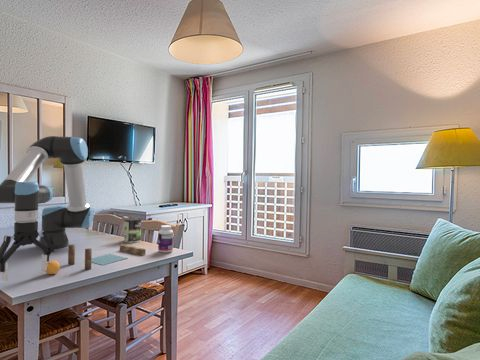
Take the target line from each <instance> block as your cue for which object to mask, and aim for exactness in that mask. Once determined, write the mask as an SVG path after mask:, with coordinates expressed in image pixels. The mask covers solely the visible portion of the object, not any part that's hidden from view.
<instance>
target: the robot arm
mask: <svg viewBox="0 0 480 360" xmlns="http://www.w3.org/2000/svg"><path fill="white" fill-rule="evenodd" d="M25 153H26V154H24V156H23V157H22V158H21V160H20V161H19V162H18V163H17V164H16V166H15V167H14V168H13V169H12V170H11V171H10V173H9V174H8V175H7V176H6V177H5V178H4V179H3V181H1V183H0V204H14V213H13V214H14V215H13V216H14V217H13V220H14V221H15V222H14V223H13V224H14V225H13V226H14V227H13V231H14V233H13V235H4V236H3V242H2V243H1V245H0V273H1V280H2V281H4V282H7V281H8V280H9V279H8V278H9V263H8V260H9V259H10V258H11V257H12V256H13V254H14V253H15V252H16V250H17V249H19V248H20V247H21V246H22V247H24V246H27V245H35V246H36V248H37V249H39V250H40V251H41V252H42V254H41V263H40V264H41V271H43V272H45V271H47V263H48V262H50V255H51V253H54V252H55V249H61V248H62V249H63V248H65V247H68V245H70V244H69V239H68V235H67V233H66V229H87V228H88V229H89V228H90V227H91V226H92V224H93V222H94V218H95V209H94V208H93V207H91V206H90V203H89V202H87V196H86V188H85V179H84V172H83V170H84V169H83V164H84V163H85V160H87V158H88V156H89V154H88V153H89V149H88V145H87V143H86V141H85V140H84V139H83V138H82V137H75V136H58V135H57V136H55V135H49V136H45V137H42V138H41V139H38V140H36V141H34V142H33V143H32V144H31V145H29V147H28V148H27V149H26V152H25ZM50 159H57V160H58V159H59V162H60V164H61V165H62V166H63V167H64V168H63V169H64V175H65V182H66V190H67V195H68V196H67V197H68V205H67V206H66V205H65V204H62V205H54V206H48V207H44V208H42V210H41V211H42V212H41V230H40V231H38V230H39V221H38V219H39V205H40V204H45V203H47V202H50V201H52V198H53V197H54V191H53V189H52V188H51V187H50V186H48V185H44V184H43V185H42V184H41V185H40V184H39V182H37V181H30V180H31V178H32V177H33V176H34V174H35V173H36V172H37V170H38V169H39V168H40V166H41V165H42V163H45V162H47V161H48V160H50ZM38 237H39V240H38ZM12 241H14V242H13V243H12V244H11V242H12ZM10 244H11V245H10ZM9 246H10V247H9ZM7 249H8V250H7Z"/></svg>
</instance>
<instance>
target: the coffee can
mask: <svg viewBox="0 0 480 360" xmlns="http://www.w3.org/2000/svg"><path fill="white" fill-rule="evenodd" d="M123 221H124V224H123V225H124V226H123V228H124V229H123V242H124V243H127V244H128V243H129V244H132V243H139V242H141V239H142V238H141V233H142V218H139V217H129V218H124V220H123Z"/></svg>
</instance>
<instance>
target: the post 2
mask: <svg viewBox="0 0 480 360" xmlns="http://www.w3.org/2000/svg"><path fill="white" fill-rule="evenodd" d="M92 249H93V248H89V247H88V248H85V249H84V271H89V270H90V271H91V269H92V262H91V258H93V257H92V251H93V250H92Z"/></svg>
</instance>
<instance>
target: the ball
mask: <svg viewBox="0 0 480 360" xmlns="http://www.w3.org/2000/svg"><path fill="white" fill-rule="evenodd" d="M60 268H61V264H60V263H59V262H58V261H57V260H51V261H50V260H49V262H47V271H44V272H45V273H46V274H48V275H55V274H56V273H58V272H59V270H60Z"/></svg>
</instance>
